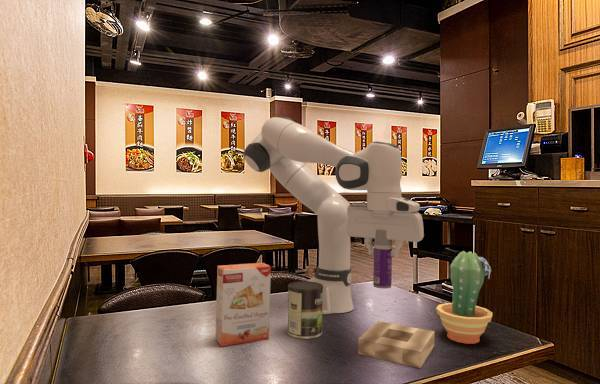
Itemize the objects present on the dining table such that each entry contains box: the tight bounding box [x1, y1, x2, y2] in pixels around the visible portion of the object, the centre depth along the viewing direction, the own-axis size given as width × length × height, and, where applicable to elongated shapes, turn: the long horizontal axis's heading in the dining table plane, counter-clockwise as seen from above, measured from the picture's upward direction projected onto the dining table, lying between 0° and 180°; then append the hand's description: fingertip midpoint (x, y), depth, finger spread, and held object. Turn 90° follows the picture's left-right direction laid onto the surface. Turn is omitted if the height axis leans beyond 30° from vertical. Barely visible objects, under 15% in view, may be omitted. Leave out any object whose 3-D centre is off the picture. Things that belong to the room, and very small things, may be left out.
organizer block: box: [357, 320, 436, 369], centre depth 110 cm, size 16×16×4 cm
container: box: [372, 230, 393, 290], centre depth 109 cm, size 5×5×15 cm
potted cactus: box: [435, 250, 494, 344], centre depth 120 cm, size 15×15×25 cm
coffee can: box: [287, 280, 323, 340], centre depth 122 cm, size 10×10×14 cm
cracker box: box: [215, 262, 272, 347], centre depth 115 cm, size 14×6×21 cm, turn 117°
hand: (383, 256), depth 109 cm, fingers closed on container, 5 cm apart
